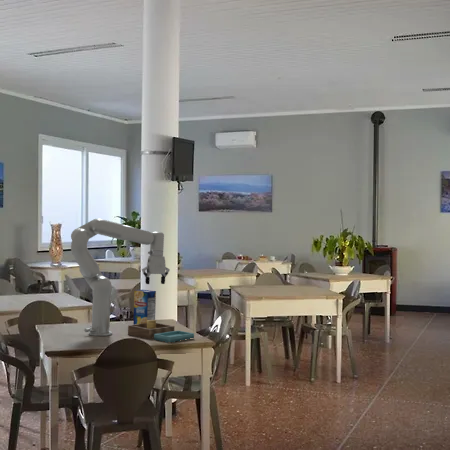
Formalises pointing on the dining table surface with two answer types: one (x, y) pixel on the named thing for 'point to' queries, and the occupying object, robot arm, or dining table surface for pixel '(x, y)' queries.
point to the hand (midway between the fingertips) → (155, 283)
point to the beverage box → (144, 306)
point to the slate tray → (173, 336)
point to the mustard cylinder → (151, 324)
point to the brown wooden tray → (148, 330)
